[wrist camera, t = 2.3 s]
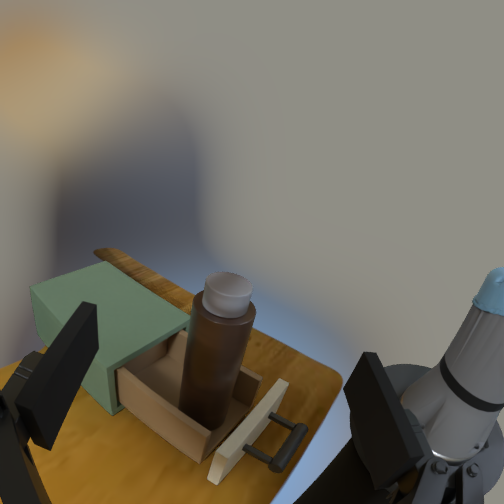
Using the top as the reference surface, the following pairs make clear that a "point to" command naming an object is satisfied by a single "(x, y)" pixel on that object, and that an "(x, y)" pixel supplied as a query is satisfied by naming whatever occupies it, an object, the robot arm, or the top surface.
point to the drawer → (189, 431)
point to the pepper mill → (215, 347)
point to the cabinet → (106, 321)
